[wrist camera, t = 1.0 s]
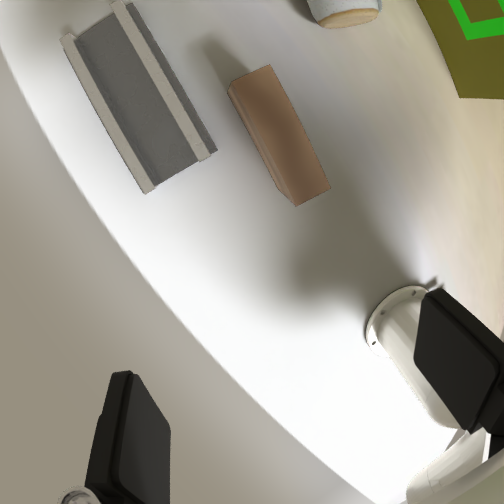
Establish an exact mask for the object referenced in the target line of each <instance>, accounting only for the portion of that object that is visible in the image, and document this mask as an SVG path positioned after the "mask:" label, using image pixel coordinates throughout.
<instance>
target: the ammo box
mask: <svg viewBox="0 0 504 504" xmlns="http://www.w3.org/2000/svg"><path fill="white" fill-rule="evenodd" d="M416 1H417V3H418V4H419V6H420V8H421V10H422V12H423V14H424V16H425V18H426V20H427V22H428V24H429V26H430V28H431V30H432V32H433V34H434V36H435V38H436V40H437V42H438V45H439V47H440V49H441V51H442V54H443V56H444V58H445V61H446V63H447V66H448V68H449V71H450V73H451V76H452V79H453V81H454V84H455V87H456V90H457V92H458V95H459V98H483V99H504V0H416Z"/></svg>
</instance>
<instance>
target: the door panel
mask: <svg viewBox="0 0 504 504" xmlns="http://www.w3.org/2000/svg"><path fill="white" fill-rule="evenodd" d="M227 94H228V96H229V98H230V99H231V101H232V103H233V105H234V107H235V108H236V110H237V112H238V114H239V116H240V118H241V119H242V121H243V123H244V125H245V127H246V129H247V130H248V132H249V134H250V136H251V138H252V140H253V142H254V144H255V145H256V147H257V149H258V151H259V153H260V155H261V157H262V159H263V161H264V163H265V164H266V166H267V168H268V170H269V172H270V174H271V176H272V178H273V180H274V182H275V184H276V186H277V188H278V190H280V191H281V192H282V193H283V194H284V195H285V196H286V197H287V198H288V199H289V200H290V201H291V202H292V203H293V204H295V205H296V206H298V205H300V204H302V203H304V202H306V201H308V200H310V199H312V198H314V197H315V196H317V195H319V194H321V193H323V192H325V191H327V190H329V189H331V187H330V185H329V183H328V180H327V178H326V176H325V174H324V171H323V169H322V167H321V165H320V162H319V160H318V158H317V156H316V154H315V152H314V149H313V147H312V145H311V143H310V141H309V139H308V137H307V135H306V133H305V131H304V129H303V126H302V124H301V122H300V120H299V118H298V116H297V114H296V112H295V110H294V109H293V107H292V105H291V103H290V101H289V99H288V97H287V95H286V93H285V91H284V89H283V87H282V86H281V84H280V82H279V80H278V78H277V76H276V74H275V73H274V71H273V69H272V67H271V65H270V64H269V65H267V66H265V67H262V68H260V69H258V70H256V71H253V72H251V73H249V74H247V75H245V76H242V77H240V78H238V79H236V80H234V81H232V82H231V84H230V86H229V89H228V91H227Z"/></svg>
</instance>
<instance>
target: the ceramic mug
mask: <svg viewBox="0 0 504 504" xmlns="http://www.w3.org/2000/svg"><path fill="white" fill-rule="evenodd" d="M307 2H308V5H309V8H310V10H311V13H312V15H313V17H314V18H315V20H316V22H317V23H318V24H319V25H320V26H322V27H324V28H329V29H331V28H343V27H349V26H354V25H359V24H363V23H367V22H370V21H372V20H374V19H376V18H377V16H378V14H379V13H380V12H381V10H382V1H381V0H307Z"/></svg>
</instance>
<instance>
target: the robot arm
mask: <svg viewBox="0 0 504 504" xmlns="http://www.w3.org/2000/svg"><path fill="white" fill-rule="evenodd" d="M366 340H367V343H368V345H369V347H370V348H371V350H372V351H373V352H374V353H376V354H377V355H380V356H384V357H389V358H390V359H391V361H392V362H393V363H394V365H395V366H396V368H397V369H398V371H399V372H400V373H401V375H402V376H403V378H404V379H405V381H406V382H407V384H408V385H409V387H410V388H411V390H412V391H413V392H414V394H415V395H416V397H417V398H418V400H419V401H420V403H421V404H422V406H423V407H424V409H425V410H426V412H427V413H428V415H429V416H430V418H431V419H432V420H433V421H434V422H435V423H437V424H439V425H440V426H443V427H447V428H455V429H463V430H466V432H465V434H464V435H463V436H462V437H461V438H460V439H459V440H458V441H457V442H456V443H455V444H454V445H453V446H451V447H450V448H449V449H448V450H447V451H445V452H444V453H443V454H442V455H440V456H439V457H438V458H437V459H435V460H434V461H433V462H431V463H430V464H429V465H428V466H426V467H425V468H424V469H423V470H421V471H420V472H419V473H418V474H416V475H415V476H414V478H413V479H412V480H411V481H410V483H409V484H408V487H407V491H406V498H407V502H408V504H504V343H503V342H502V341H501V340H500V339H499V338H498V337H497V336H496V335H495V334H494V333H493V332H492V331H490V330H489V329H488V328H487V327H486V326H485V325H484V324H483V323H482V322H481V321H479V320H478V319H477V318H476V317H475V316H474V315H473V314H472V313H470V312H469V311H468V310H467V309H466V308H465V307H464V306H462V305H461V304H460V303H459V302H458V301H457V300H455V299H454V298H453V297H452V296H451V295H450V294H448V293H447V292H446V291H445V290H444V289H442V288H438V289H436V290H433V291H430V292H429V291H427V290H426V289H425V288H423V287H420V286H407V287H403V288H401V289H399V290H397V291H395V292H393V293H392V294H390V295H389V296H388V297H386V298H385V299H384V300H383V301H382V302H381V303H380V304H379V305H378V306H377V308H376V309H375V311H374V312H373V314H372V315H371V317H370V319H369V322H368V325H367V329H366ZM170 436H171V430H170V426H169V423H168V422H167V420H166V419H165V417H164V416H163V414H162V413H161V411H160V409H159V408H158V407H157V405H156V403H155V402H154V400H153V399H152V397H151V396H150V394H149V392H148V390H147V389H146V387H145V386H144V384H143V382H142V380H141V379H140V377H139V376H138V375H137V374H133V373H132V372H131V371H130V370H129V371H121V372H115V373H113V374H112V376H111V379H110V383H109V387H108V391H107V395H106V398H105V403H104V406H103V411H102V414H101V415H100V416H99V419H98V422H97V427H96V431H95V435H94V440H93V445H92V449H91V454H90V459H89V464H88V469H87V475H86V480H85V486H84V487H82V486H74V487H71V488H68V489H66V490H65V491H64V492H63V493H62V494H61V496H60V498H59V499H58V502H57V504H170V438H171V437H170Z"/></svg>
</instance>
